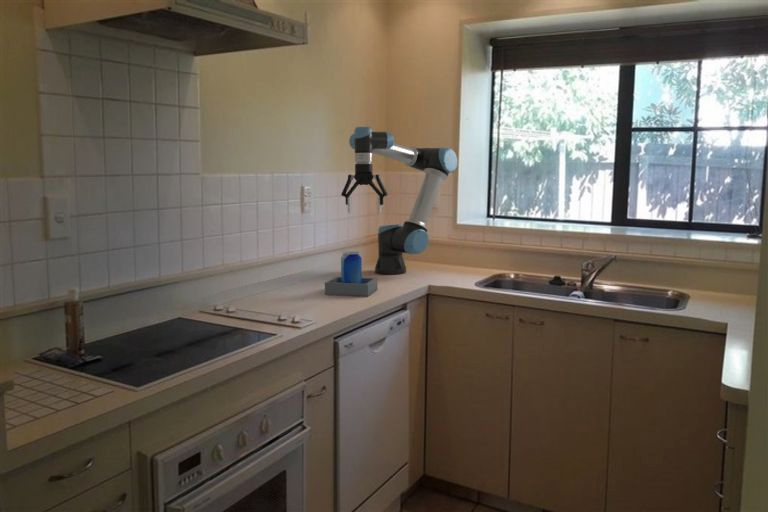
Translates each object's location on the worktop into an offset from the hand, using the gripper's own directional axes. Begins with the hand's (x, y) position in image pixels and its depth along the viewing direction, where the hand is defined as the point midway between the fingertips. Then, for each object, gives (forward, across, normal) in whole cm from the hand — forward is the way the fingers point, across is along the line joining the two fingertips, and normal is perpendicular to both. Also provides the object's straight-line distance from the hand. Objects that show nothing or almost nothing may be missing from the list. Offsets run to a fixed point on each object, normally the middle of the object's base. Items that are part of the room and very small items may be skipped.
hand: (364, 212), depth 287 cm
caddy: (+31, 0, -20) cm, 37 cm away
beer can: (+31, 0, -20) cm, 37 cm away
